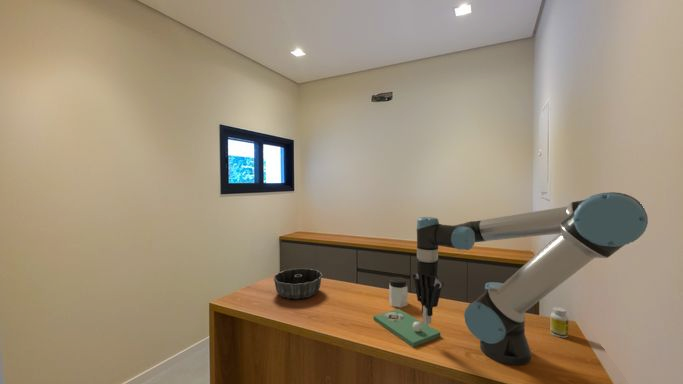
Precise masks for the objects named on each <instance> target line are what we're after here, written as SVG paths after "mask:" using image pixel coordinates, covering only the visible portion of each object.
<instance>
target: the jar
mask: <svg viewBox="0 0 683 384" xmlns="http://www.w3.org/2000/svg"><path fill="white" fill-rule="evenodd" d="M407 281H408V280H407V279H406V278H404V277H400V276H395V277H389V286H388V287H389V289H388V290H389V291H388V293H389V294H388V295H389V297H388V298H389V300H388V301H389V304H390V305H391V307H395V308H398V309H400V308H404V307H408V300H409V299H408V282H407Z"/></svg>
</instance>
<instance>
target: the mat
mask: <svg viewBox="0 0 683 384" xmlns="http://www.w3.org/2000/svg"><path fill="white" fill-rule="evenodd" d="M373 321H374V322H376V323H377V324H379V325H381V326H382V327H384V329H386V330H387V331H389V332H391V333H392V334H393V335H395V336H397V337H398V338H399V339H400V340H402V341H404V342H405V343H406V344H408V345H409V346H410V347H412V348H414V347H417V346H420V345H422V344H425V343H428V342H430V341H432V340H435V339H437V338H441V331H439V330H437V329H435V328H434V327H432V326H430V325H429V324H427V325H425V324H423V321H421V320H420V319H417V318H416V317H414V316H412V315H410V314H409V313H407V312H405V311H403V310H401V309H400V308H395V309H393V310H389V311H386V312H383V313H379V314H376V315H373ZM414 322H420V323H421V325H422V330H421V331H420V332H416V331H414V329H413V323H414Z"/></svg>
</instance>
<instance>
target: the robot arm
mask: <svg viewBox="0 0 683 384" xmlns="http://www.w3.org/2000/svg"><path fill="white" fill-rule="evenodd" d="M640 203H641V202H640V201H639V200H638V199H637V198H635V197H633V196H631V195H628V194H626V193H621V192H614V191H613V192H611V191H610V192H602V193H597V194H593V195H591V196H589V197H587V198H585V199H582V200H576V201H572V202H570V203H568V204H569V205H567V206H560V207H556V208H549V209H544V210H538V211H531V212H525V213H519V214H513V215H506V216H499V217H493V218H487V219H481V220H472V221H467V222H465V223H459V224H455V225H450V224H441V223H440V222H439V219H438V218H437V217H432V216H421V217H419V218H418V219H417V221H416V270H417V272H416V273H414V274H412V278H413V281H414V287H415V293H416V294H415V295H416V298H417V302H419V303H420V304H421V313H422V322H423V324H425V325H430V324H432V316H433V313H434V312H433V308H436V307H438V304H439V299H440V295H441V291H442V288H443V287H444V282H441V281H439V276H438V271H439V261H438V259H439V247H446V248H451V249H456V250H459V251H461V250H462V251H463V250H465V251H470V250H471V249H472V248H473V247H474V246H475V243H482V242H490V241H499V240H510V239H519V238H528V237H540V236H547V235H548V236H550V235H556V237H554V238H553V239H552V240H551V241H550V242H548V244H546V245H545V246H544V247H543V248H542V249H540V250H539V252H537V253H536V254H535V255H534V256H533V257H531V259H530V260H528V261H527V262H526V263H525V264H524V265H522V266H521V267H520V268H519V269H517V271H515V273H514V274H512V276H510V277H509V278H508V279H506V280H505V282H503V283H502V282H496V281H495V282H493V281H491V282H490V281H489V282H486V283H485V285H484V292H483V293H482V294H481V295H480V296H479V297H477V299H476V300H474V301H473V302H470V303H469V304H468V305H467V307H466V308H465V310H464V314H463V316H464V323H465V325H466V327H467V329H468V330H469V331H470V333H471V335H473V336H474V337H475V338H477V339H478V340H479V348H480V349H481V350H480V351H481V352H483V353H484V355H486V356H487V357H489V358H490V359H492V360H494V361H496V362H499V363H501V364H506V365H512V366H525V365H527V364H529V363H530V362H531V360H532V351H531V348H530V345H529V342H528V339H527V337H526V334H525V333H526V332H525V326H526V325H525V323H526V322H525V320H526V313H525V312H527V311H528V310H530V309H531V308H532V307H534V306H535V305H536V304H537V303H538V302H540V301H541V300H543V299H544V298H545V297H546V296H547V295H549V294H550V293H552V292H553V291H554V290H555V289H556V288H558V287H559V286H561V285H562V284H564V282H566V281H567V280H568V279H570V278H571V277H572V276H574V275H575V274H576V273H577V272H578V271H581V270H582V268H584V267H585V266H587V265H588V264H589V263H590V262H591V261H592V260H594V259H597V258H599V259H607V258H608V259H609V258H610V257H611V256H612V255H614V254H615V253H617V252H618V251H619V250H620V249H621V248H623V247H625V246H626V245H629V244H630V243H634V242H635V241H636V240H638V239H639V238H640V237H641V236H643V235H644V234H645V232H646V230H647V227H648V225H649V224H648V223H649V222H648V221H649V220H648V219H649V218H648V214H647V212H646V210H645V207H644V206H642V205H643V204H642V203H641V204H640ZM643 207H644V208H643Z"/></svg>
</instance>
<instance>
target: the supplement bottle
mask: <svg viewBox="0 0 683 384" xmlns="http://www.w3.org/2000/svg"><path fill="white" fill-rule="evenodd" d="M549 322H550V334H551V335H553V336H555V337H557V338H563V339H564V338H565V339H566V338H567V337H569V317H568V316H567V310H566V309H565V308H563V307H559V306H554V307H552V312H551V313H550V321H549Z"/></svg>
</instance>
